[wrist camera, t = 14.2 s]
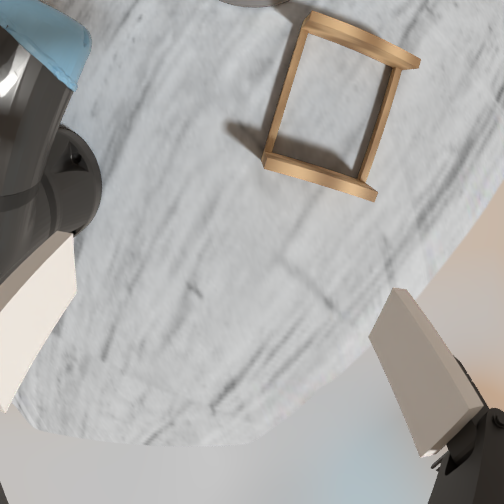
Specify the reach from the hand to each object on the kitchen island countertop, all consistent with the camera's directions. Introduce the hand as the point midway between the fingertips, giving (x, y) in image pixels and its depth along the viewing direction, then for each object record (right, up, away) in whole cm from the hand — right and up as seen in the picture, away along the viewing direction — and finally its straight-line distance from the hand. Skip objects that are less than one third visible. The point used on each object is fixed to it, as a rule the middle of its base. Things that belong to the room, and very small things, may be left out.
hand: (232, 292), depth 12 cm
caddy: (+10, +18, +21) cm, 29 cm away
